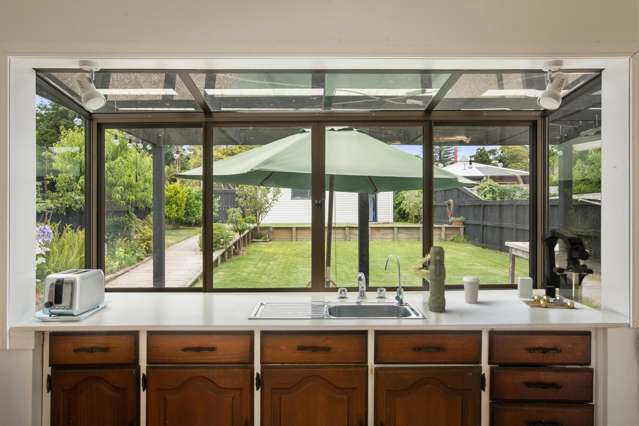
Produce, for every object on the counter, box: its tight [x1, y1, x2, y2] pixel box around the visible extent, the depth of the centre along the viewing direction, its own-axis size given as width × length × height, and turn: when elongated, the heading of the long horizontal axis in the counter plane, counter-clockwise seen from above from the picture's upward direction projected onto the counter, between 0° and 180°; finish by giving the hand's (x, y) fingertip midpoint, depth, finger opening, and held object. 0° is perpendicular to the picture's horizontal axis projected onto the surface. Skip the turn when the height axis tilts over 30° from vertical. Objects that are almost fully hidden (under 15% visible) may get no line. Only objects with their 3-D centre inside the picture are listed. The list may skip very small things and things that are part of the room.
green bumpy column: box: [428, 245, 447, 313], centre depth 220 cm, size 9×12×35 cm
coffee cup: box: [462, 275, 481, 305], centre depth 238 cm, size 10×10×15 cm
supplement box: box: [517, 276, 534, 300], centre depth 250 cm, size 7×7×13 cm
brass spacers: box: [533, 294, 575, 310], centre depth 230 cm, size 16×17×4 cm
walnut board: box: [522, 300, 579, 310], centre depth 230 cm, size 17×24×1 cm
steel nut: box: [552, 298, 565, 306], centre depth 229 cm, size 5×5×3 cm
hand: (572, 285), depth 228 cm, fingers open, 7 cm apart
